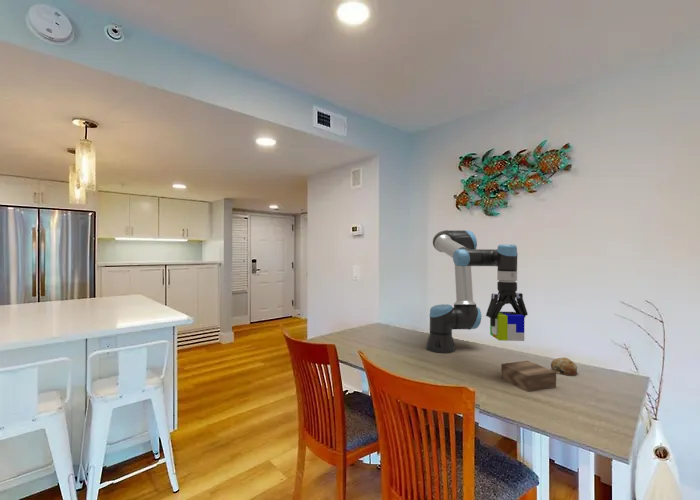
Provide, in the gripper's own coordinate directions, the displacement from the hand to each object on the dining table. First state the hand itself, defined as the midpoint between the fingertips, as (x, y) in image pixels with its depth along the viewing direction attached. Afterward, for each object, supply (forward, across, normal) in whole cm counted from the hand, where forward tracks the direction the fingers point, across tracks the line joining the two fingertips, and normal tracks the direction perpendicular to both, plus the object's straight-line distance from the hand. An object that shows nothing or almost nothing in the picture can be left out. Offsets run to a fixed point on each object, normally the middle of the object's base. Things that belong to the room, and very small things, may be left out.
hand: (506, 333), depth 143 cm
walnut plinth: (+19, +6, -6) cm, 21 cm away
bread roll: (+19, +31, 0) cm, 37 cm away
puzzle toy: (+2, 0, 0) cm, 2 cm away
